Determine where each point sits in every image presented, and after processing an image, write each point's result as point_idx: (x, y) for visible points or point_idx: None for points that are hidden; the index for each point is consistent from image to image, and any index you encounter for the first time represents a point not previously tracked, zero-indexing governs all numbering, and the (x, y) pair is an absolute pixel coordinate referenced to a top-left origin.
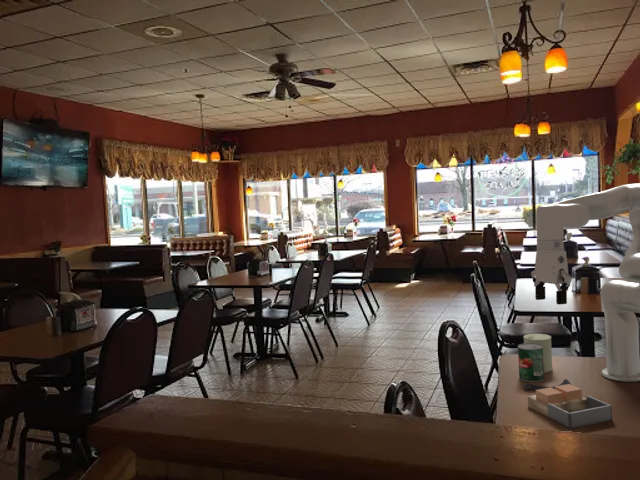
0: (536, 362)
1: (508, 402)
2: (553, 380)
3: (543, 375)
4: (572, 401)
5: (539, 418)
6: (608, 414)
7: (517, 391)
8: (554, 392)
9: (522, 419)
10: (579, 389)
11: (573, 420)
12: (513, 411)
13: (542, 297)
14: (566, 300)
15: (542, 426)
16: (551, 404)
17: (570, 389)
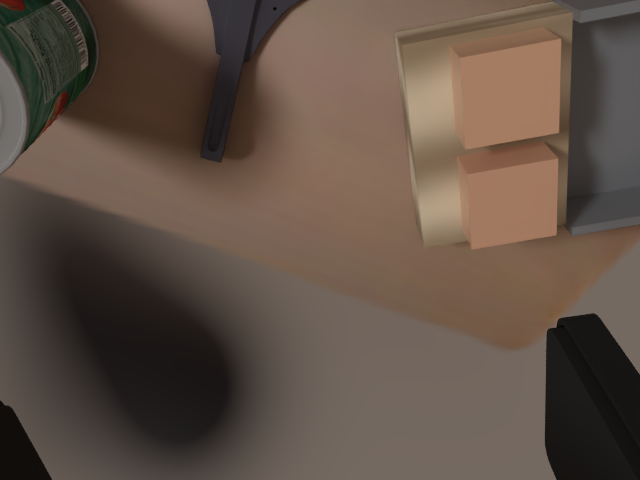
0: (58, 69)
1: (347, 272)
2: None
3: None
4: (564, 101)
5: None
6: None
7: (227, 191)
8: (538, 190)
9: (522, 289)
10: (559, 54)
11: None
12: (441, 289)
13: (15, 468)
14: (620, 353)
15: (608, 256)
16: (592, 227)
17: (537, 98)
